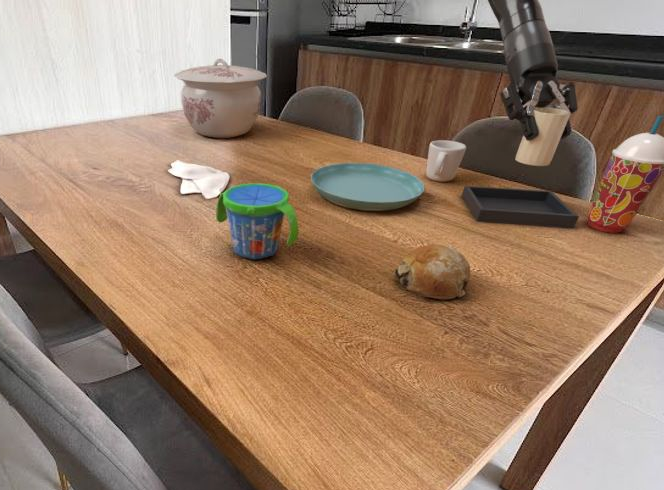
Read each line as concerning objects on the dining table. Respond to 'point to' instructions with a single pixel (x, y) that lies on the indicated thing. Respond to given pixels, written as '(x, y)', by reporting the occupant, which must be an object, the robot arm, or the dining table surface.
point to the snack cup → (256, 218)
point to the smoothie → (627, 181)
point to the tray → (518, 207)
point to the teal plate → (366, 186)
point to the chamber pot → (221, 98)
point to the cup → (444, 160)
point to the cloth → (200, 179)
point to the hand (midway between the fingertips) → (548, 137)
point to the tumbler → (543, 137)
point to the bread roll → (434, 272)
